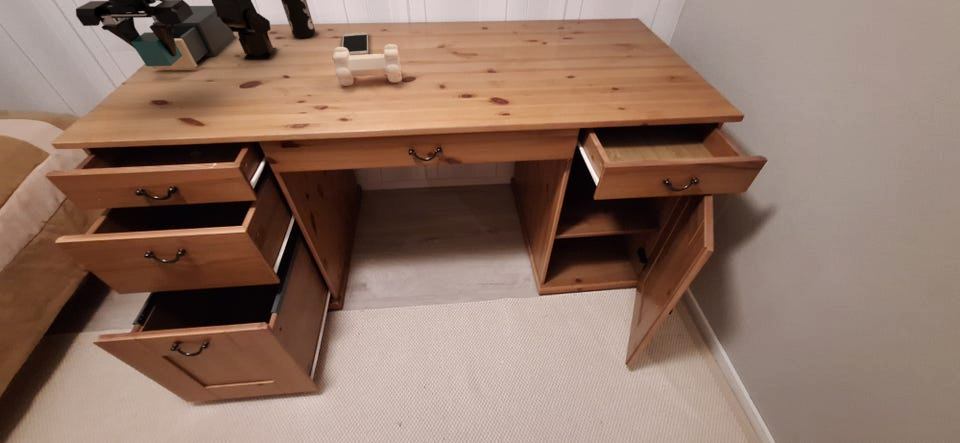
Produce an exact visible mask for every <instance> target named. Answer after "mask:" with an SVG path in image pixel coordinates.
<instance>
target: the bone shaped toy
mask: <svg viewBox="0 0 960 443" xmlns="http://www.w3.org/2000/svg"><path fill="white" fill-rule="evenodd" d="M332 61H333V66H334V74H335V77H337V79H338V83H339V84H340V85H341V86H343V87H349V86H352V85H353V84H354V82H355V81H354V79H355V77H372V76H387V79H388V81H389V82H390V83H392V84H395V83H400V82H401V81H402V80H403V77H402V72H403V71H402V67H401V55H400V53H399V47H398V46H397V44H395V43H388V44H385V46H384V47H383V53H369V54H366V55H350V54H349V51H348V49H347V48H345V47H342V46H337V47H335V48H334V49H333V55H332Z"/></svg>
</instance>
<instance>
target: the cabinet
mask: <svg viewBox="0 0 960 443" xmlns="http://www.w3.org/2000/svg"><path fill="white" fill-rule="evenodd" d="M189 6H190V8H191V10H192V12H193V15H191V16H190V17H189V18H188V19H186V20H185V21H184V22H182V23H180V24H174V25H173V26H197V27H198V29H199V31H200V33H201V35H202V37H203V39H204V41H205V43H206V45H207V47H208V49H209V50H210V51H208V52H207V53H206V54H205V55H204V56H203V57H216V56H217V55H218V54H219V53H220V52H222V50H224V49H225V48H226V47H227V46H228V45H229V44H230V43H231V42H232V41H233V40H234V39H235V38H236V36H235V34H234V32H232V31H231V29H230V28H229V27H228V26H227V25H226V24H224V23H223V22H222V20H221V18H220V17H217V12H216V9H215V7H214V5H189ZM154 23H155V22H154V21H153V22H152V24H154Z"/></svg>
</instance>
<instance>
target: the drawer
mask: <svg viewBox="0 0 960 443" xmlns="http://www.w3.org/2000/svg"><path fill="white" fill-rule="evenodd" d="M173 35H174V41H175V44H176V46H177V47H178V49H179V51H180V52H181V54H182V56H181V57H180V58H179V59H178V60H177V61H176V62H175V63H174V64H172V65H171V66H151V67H152V69H188V68H189V69H194V68H197V67H198V64H197V63H198V62H199V61H200V60H201V59H202V58H203V57H205V56H204V55H205V54H206V53H207V52H208V51H210V50H209V49H208V47H207V45H206V43H205V41H204V39H203V37H202V35H201V33H200V31H199V29H198V27H197V26H173Z"/></svg>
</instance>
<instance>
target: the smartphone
mask: <svg viewBox="0 0 960 443" xmlns="http://www.w3.org/2000/svg"><path fill="white" fill-rule="evenodd" d="M341 42H342V43H341V47H345V48H347V49H348V51H349V54H350V55H366V54H370V52H369V33H368V32H367V31H365V32H351V33H350V32H349V33H343V34H342V41H341Z"/></svg>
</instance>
